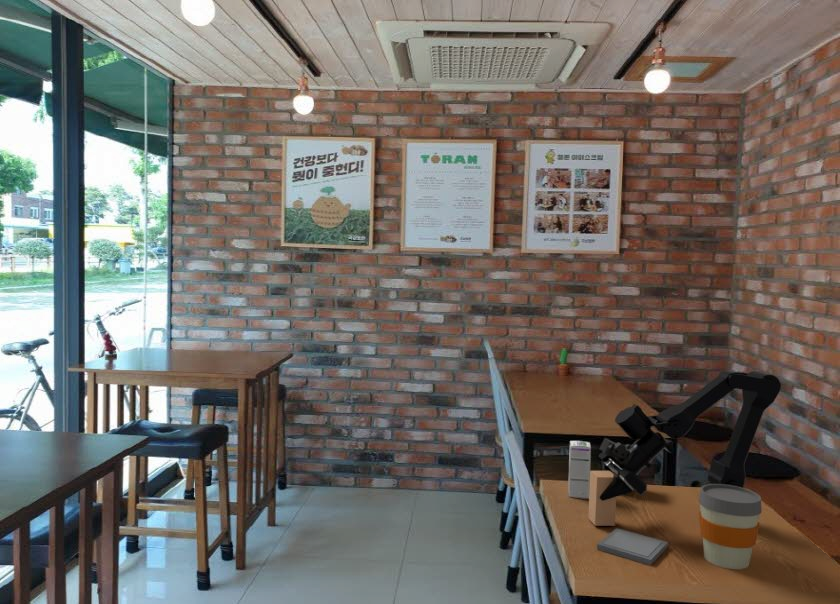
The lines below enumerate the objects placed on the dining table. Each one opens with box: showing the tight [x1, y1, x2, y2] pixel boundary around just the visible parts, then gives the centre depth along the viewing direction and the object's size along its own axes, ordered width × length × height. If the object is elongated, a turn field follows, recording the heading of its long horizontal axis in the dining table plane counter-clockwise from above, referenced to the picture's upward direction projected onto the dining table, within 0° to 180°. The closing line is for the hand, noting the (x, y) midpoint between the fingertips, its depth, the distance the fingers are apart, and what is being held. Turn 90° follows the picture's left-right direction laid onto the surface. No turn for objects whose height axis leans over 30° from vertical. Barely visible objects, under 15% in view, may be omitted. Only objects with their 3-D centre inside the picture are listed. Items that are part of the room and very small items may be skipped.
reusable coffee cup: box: [698, 483, 763, 570], centre depth 145 cm, size 13×13×15 cm
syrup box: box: [567, 440, 592, 500], centre depth 183 cm, size 6×6×14 cm
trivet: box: [596, 527, 669, 566], centre depth 149 cm, size 12×12×1 cm
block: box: [587, 470, 617, 527], centre depth 163 cm, size 5×5×12 cm
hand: (597, 495), depth 163 cm, fingers closed on block, 5 cm apart
